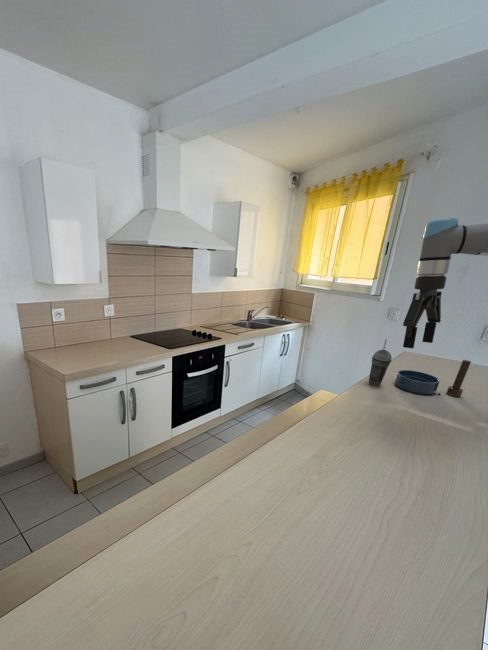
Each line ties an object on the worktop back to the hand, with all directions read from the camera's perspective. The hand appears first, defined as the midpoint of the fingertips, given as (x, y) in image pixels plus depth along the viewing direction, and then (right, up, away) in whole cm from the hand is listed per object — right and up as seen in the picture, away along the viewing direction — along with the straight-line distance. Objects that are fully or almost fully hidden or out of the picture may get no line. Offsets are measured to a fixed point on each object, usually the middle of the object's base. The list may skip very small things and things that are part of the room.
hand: (418, 345), depth 104 cm
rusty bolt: (+36, -17, +30) cm, 50 cm away
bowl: (+23, -14, +35) cm, 44 cm away
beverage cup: (+7, -13, +37) cm, 40 cm away
